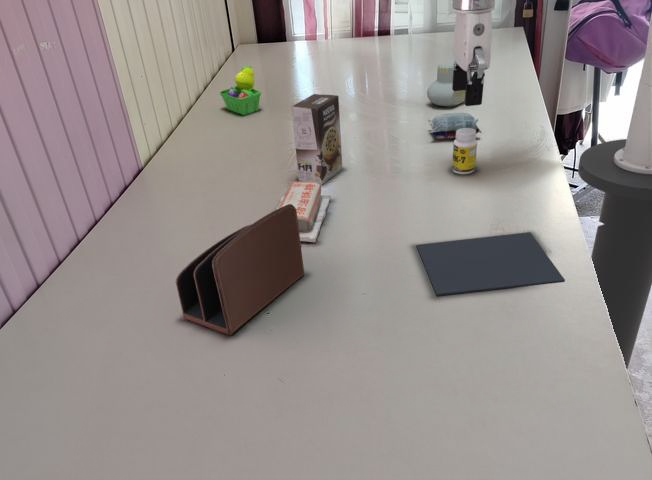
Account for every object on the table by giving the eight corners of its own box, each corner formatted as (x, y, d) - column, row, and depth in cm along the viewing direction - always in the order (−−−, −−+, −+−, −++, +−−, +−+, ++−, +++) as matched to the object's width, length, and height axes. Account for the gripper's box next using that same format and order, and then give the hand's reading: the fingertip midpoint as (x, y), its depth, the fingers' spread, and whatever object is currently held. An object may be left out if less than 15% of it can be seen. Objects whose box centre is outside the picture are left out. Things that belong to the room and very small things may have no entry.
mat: (529, 234, 111) (530, 232, 111) (564, 282, 99) (565, 279, 98) (416, 246, 112) (416, 244, 111) (436, 296, 99) (436, 294, 99)
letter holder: (305, 274, 108) (297, 197, 99) (230, 337, 96) (214, 255, 87) (259, 261, 113) (247, 187, 104) (183, 319, 101) (162, 240, 92)
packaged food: (427, 129, 156) (428, 109, 152) (477, 127, 154) (479, 106, 151) (429, 143, 149) (430, 122, 146) (481, 140, 147) (483, 119, 144)
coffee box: (322, 185, 136) (316, 108, 126) (297, 181, 139) (289, 105, 129) (344, 169, 142) (339, 94, 132) (319, 165, 145) (313, 92, 135)
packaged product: (281, 178, 129) (329, 178, 127) (283, 200, 132) (331, 200, 130) (260, 219, 115) (314, 219, 113) (263, 243, 118) (316, 243, 116)
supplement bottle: (447, 170, 136) (449, 131, 130) (462, 164, 138) (464, 125, 132) (464, 176, 132) (467, 136, 127) (479, 169, 134) (483, 130, 129)
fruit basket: (221, 109, 184) (214, 68, 177) (246, 101, 188) (240, 61, 181) (242, 117, 177) (235, 75, 170) (268, 109, 180) (262, 67, 174)
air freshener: (446, 112, 164) (448, 71, 158) (422, 106, 170) (422, 67, 164) (472, 100, 170) (475, 60, 163) (448, 95, 175) (450, 56, 169)
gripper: (509, 7, 108) (498, 109, 119) (481, -10, 122) (473, 83, 133) (465, 12, 109) (458, 113, 119) (442, -6, 122) (437, 86, 133)
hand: (466, 97), depth 126 cm, fingers open, 9 cm apart
